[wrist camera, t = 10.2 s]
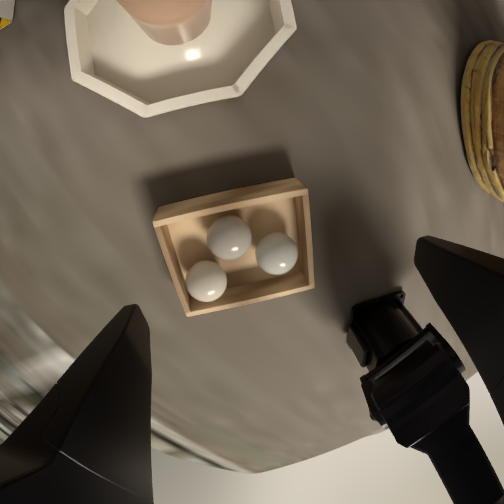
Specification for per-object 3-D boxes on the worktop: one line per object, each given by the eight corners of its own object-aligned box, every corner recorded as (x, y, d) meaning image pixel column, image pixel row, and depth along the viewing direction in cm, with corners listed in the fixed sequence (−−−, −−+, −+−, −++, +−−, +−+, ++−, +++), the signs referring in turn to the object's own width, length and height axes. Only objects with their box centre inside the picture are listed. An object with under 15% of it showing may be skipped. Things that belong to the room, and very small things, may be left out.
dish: (260, -60, 10) (269, -79, 8) (292, 90, 17) (307, 88, 15) (78, -20, 10) (63, -33, 7) (100, 133, 16) (84, 138, 14)
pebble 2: (244, 204, 20) (251, 221, 17) (251, 242, 21) (258, 263, 19) (201, 213, 20) (201, 232, 17) (211, 250, 21) (213, 273, 19)
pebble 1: (220, 248, 21) (223, 270, 19) (228, 281, 23) (232, 305, 20) (181, 257, 21) (179, 280, 18) (192, 289, 23) (191, 314, 20)
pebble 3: (289, 221, 21) (301, 239, 18) (293, 256, 23) (304, 277, 20) (249, 230, 21) (256, 249, 18) (255, 264, 22) (262, 287, 20)
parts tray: (295, 177, 20) (307, 188, 18) (303, 268, 24) (314, 288, 22) (158, 206, 20) (152, 222, 17) (187, 294, 24) (187, 316, 21)
